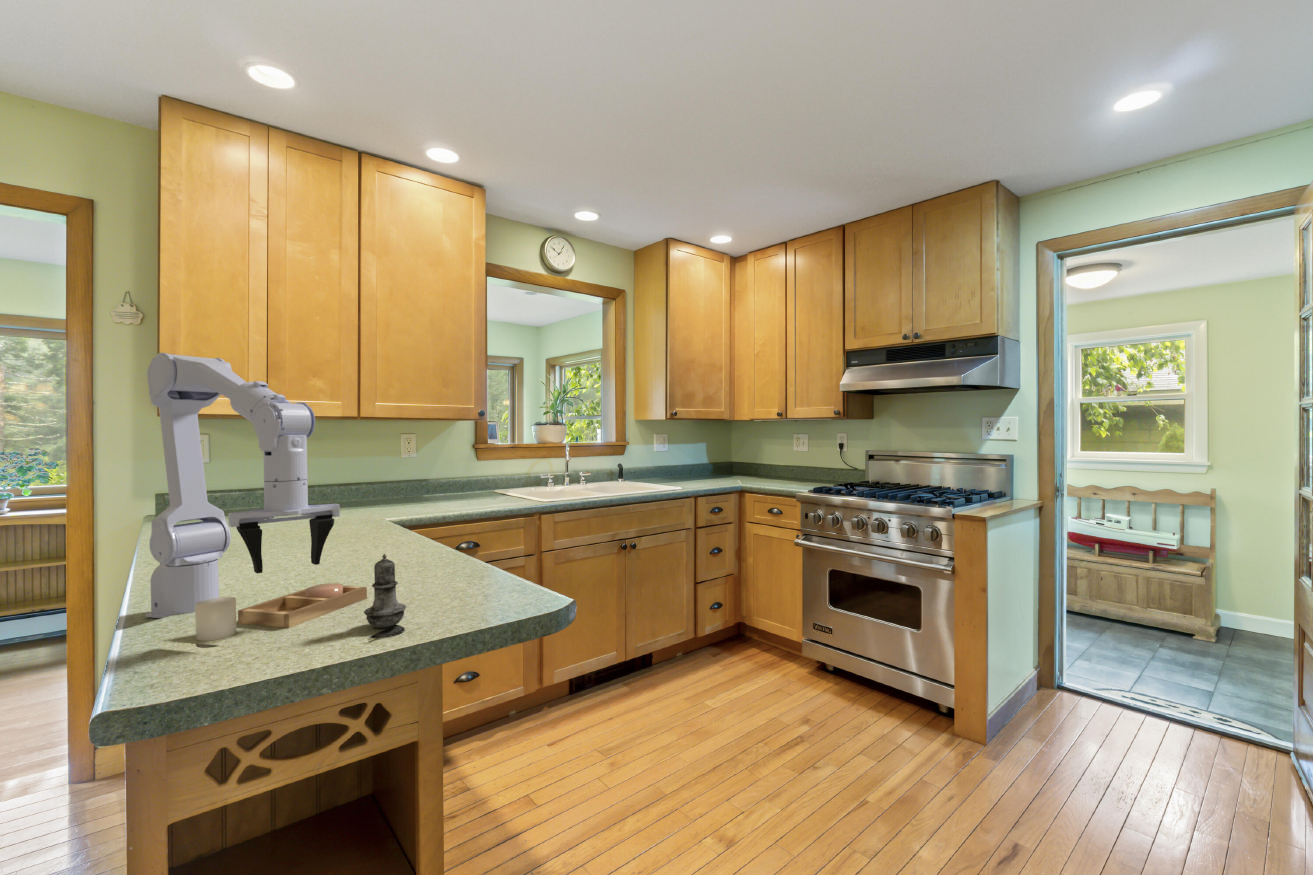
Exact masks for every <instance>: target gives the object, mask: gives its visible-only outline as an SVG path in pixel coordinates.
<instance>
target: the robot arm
mask: <svg viewBox="0 0 1313 875" xmlns="http://www.w3.org/2000/svg"><path fill="white" fill-rule="evenodd" d="M146 376H147V377H146V379H147V387H148V395H149V398H150V400H149V401H150V403H151V405H154V406H155V407H157V408H158V410H159V420H160V429H161V430H160V431H161V437H162V447H163V454H164V463H165V464H164V465H165V473H166V480H167V481H166V482H167V490H168V498H169V506H168V507H167V508H166V509H164V510H163V511H162V512H161V513H159V514H158V515H157V516H155V518H154V519H153V520H151V531H150V532H151V533H150V537H149V550H150V553H151V555H152V558H153V559H154V560H155V561H156V562H158V563H159V565H158V566H156V567H155V569H154V570H153V572H152V574H151V577H150V612H149V613H145V617H146V618H152V619H153V618H154V619H164V618H165V619H166V618H169V617H172V616H175V615H184V614H192V613H195V604H196V603H197V602H200V601H203V600H207V599H212V598H218V597H220V579H219V578H220V577H219V576H220V575H219V559H222V558H224V553H226V552H227V550H228V549H229V547H230V544H231V541H232V534H231V529H230V528H235V529H236V530H237V532H238V533H239V535H240V537H241V538H242V540H243V542H244V544H245V546H246V548H247V550H248V553H249V555H250V558H251V562H252V565H253V572H254V573H256V574H262V573H263V570H264V569H263V568H264V567H263V565H264V564H263V556H262V544H263V542H262V540H263V539H262V538H263V529H262V528H261V525H260V524H270V523H281V522H289V521H299V520H308V523H309V531H310V540H311V541H310V546H311V547H310V561H311V562H310V563H311V564H313V565H314V566H318V565H320V563H321V557H322V553H323V550H324V547H325V544H326V541H327V538H328V537H329V534H330V533H331V530H332V529H333V527H334V525H335V518H336V517H341V516H340V515H341V512H340V510H341V508H340V504H338V503H327V504H309V495H308V494H309V493H308V490H309V488H308V487H309V486H308V483H309V482H308V439H309V438H310V437H311V436H312V435H313V433H314V431H315V428H316V416H315V412H314V411H313V408H312V407H310V406H309V405H308V404H307V403H306V402H301V401H300V402H299V401H298V402H295V403H294V402H293V403H292V402H291V401H289V400H287V399H286V396H285V395H283V394H280V393H279V394H278V393H276V392H275V391H273V390H272V389H270V388H268V387H269V384H268V383H266V382H265V381H261V380H259V381H258V380H254V381H248V382H247V381H246V380H244V378H242V377H241V376H239V375H238V374H237V373H235V372H234V371H233V369H232V365H231V363H230V362H228V361H225V359H223V358H219V357H214V358H213V357H201V356H200V357H199V356H192V355H191V356H190V355H181V354H172V353H171V354H170V353H167V352H159V353H156V355H154V357H153V358H151V361H150V363H149V365H148V367H147V371H146ZM220 396H223V397H225V398H226V399H228V400H230V401H229V402H230V404H229V405H230V406H231V409H232V410H233V411H234V412H235V413H237V414H238V415H240V416H241V417H243V418H244V419H246V420H247V421H249V423H252V424H253V430H254V433H255V434H256V436H257V439H258V447H259V449H260V451H262V452H263V494H264V495H263V497H264V498H263V500H264V502H263V503H264V508H261V509H260V508H259V509H252V510H244V511H237V512H236V511H234V512H229V513H227V515H228V518H227V519H228V523H227V519H226V516H225V512H224V510H222V509H220V508H219V507H217V506H215V505H213V504H212V503H211V502H209V501H208V493H207V484H206V475H205V469H204V468H205V467H204V460H203V451H202V441H201V434H200V432H201V431H200V426H199V424H200V423H199V416H198V415H199V413H200V411H201V410H202V409H204V408H207V407H210V406H211V405H213V403H214V402H216V400H217V399H219V397H220ZM334 517H335V518H334ZM193 520H194V521H195V520H199V521H196V522H189V521H193ZM187 521H188V523H180V524H177V523H179V522H187Z"/></svg>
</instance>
